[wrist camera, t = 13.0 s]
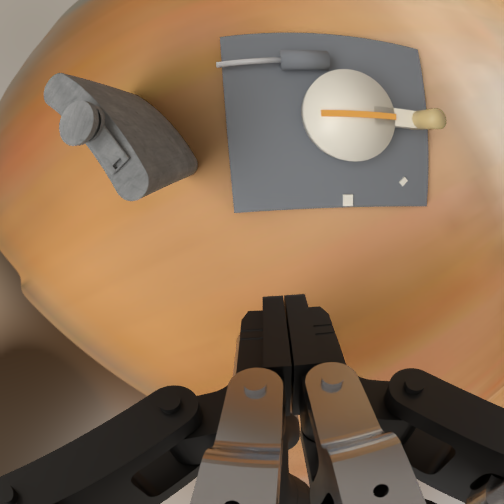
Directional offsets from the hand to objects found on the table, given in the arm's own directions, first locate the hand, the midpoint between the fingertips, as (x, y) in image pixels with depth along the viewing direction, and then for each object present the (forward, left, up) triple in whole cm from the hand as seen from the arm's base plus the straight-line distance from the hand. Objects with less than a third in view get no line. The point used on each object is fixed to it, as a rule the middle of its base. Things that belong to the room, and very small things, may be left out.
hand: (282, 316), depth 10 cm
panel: (+10, -10, -29) cm, 32 cm away
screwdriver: (+18, -3, -28) cm, 33 cm away
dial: (+10, -14, -27) cm, 32 cm away
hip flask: (+10, +14, -29) cm, 34 cm away
